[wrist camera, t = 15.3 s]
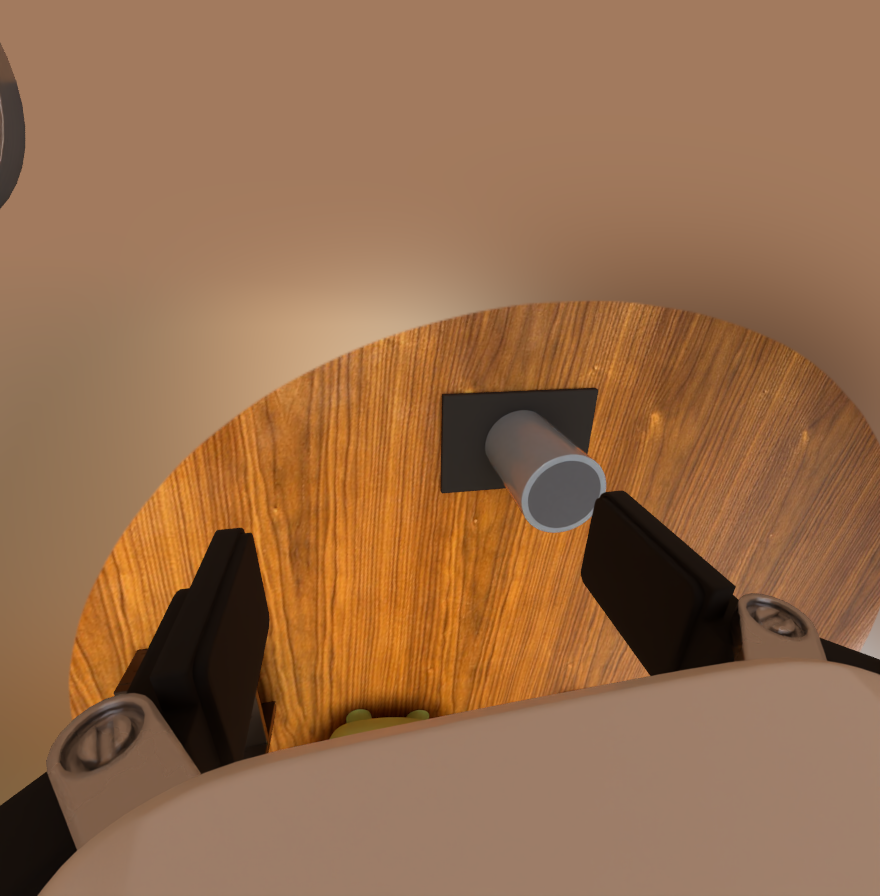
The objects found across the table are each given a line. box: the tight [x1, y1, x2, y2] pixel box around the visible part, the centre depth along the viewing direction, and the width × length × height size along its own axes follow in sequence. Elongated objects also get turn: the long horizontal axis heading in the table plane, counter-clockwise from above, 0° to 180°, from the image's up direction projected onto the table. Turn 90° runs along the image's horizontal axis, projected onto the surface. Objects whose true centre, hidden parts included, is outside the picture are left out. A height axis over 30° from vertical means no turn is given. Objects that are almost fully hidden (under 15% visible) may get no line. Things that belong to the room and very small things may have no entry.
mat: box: [441, 388, 598, 493], centre depth 41 cm, size 15×10×1 cm, turn 89°
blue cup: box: [485, 410, 606, 533], centre depth 36 cm, size 7×7×10 cm
